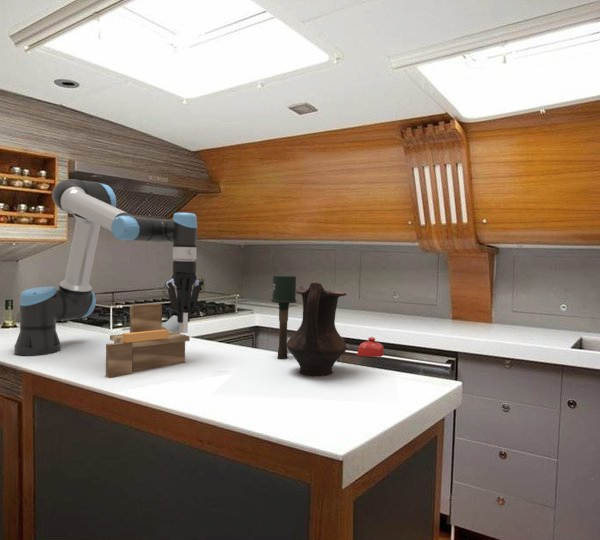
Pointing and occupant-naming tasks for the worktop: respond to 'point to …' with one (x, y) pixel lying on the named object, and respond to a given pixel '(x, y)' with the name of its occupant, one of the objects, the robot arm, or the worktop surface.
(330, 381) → the worktop surface
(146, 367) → the open wooden box
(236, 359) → the worktop surface
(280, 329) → the stick grenade
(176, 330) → the ceramic mug
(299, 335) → the jug
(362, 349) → the butter dish
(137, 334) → the orange rectangular block
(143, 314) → the lid
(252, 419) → the worktop surface
